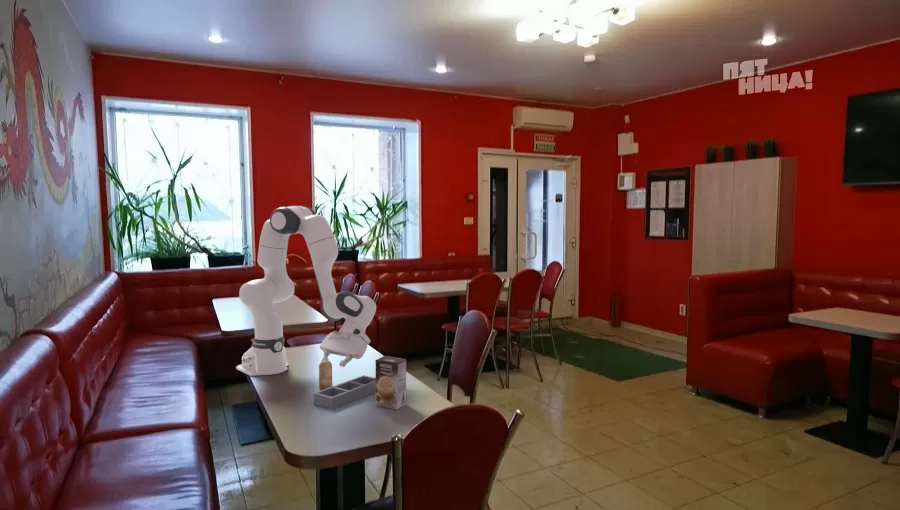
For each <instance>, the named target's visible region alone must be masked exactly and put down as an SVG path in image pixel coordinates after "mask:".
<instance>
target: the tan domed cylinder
mask: <svg viewBox="0 0 900 510" xmlns="http://www.w3.org/2000/svg"><path fill="white" fill-rule="evenodd" d="M332 386H333V364H332V362H331V361H330V360H323V361H322V360H321V361H320V362H319V364H318V390H319V391H321V390H324V389H327V388H330V387H332Z"/></svg>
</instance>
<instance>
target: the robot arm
mask: <svg viewBox="0 0 900 510" xmlns="http://www.w3.org/2000/svg"><path fill="white" fill-rule="evenodd" d="M297 234H300V235H302V237H303V238H304V240H305V242H306V243H305V244H306V246H307V249H308V253H309V254H310V259H311V262H312V267H313V272H314V276H315V280H316V284H317V287H318V291H319V292H318V293H319V296H320V311H321V314H322V315H323V317H324V318H325V319H326V320H328V321H331V322H337V321H339V320H341V319H342V318H343V319H345V320H344V322H343V324H342V326H341V327H340V328H339V331H338V330H333V331H332V332H330V333H328V334H327V335H326V336H325V337H324V339H323V340H322V342H320V345H319V349H320V350H321V351H322V352H323V357H322V359H321V361H323V360H328V361H330V360H329V358H328V357H329V356H330V355H336V356H340V357H345V358H344V359H343V360H340V362H339V363H338V365H339V366H340V367H342V368H345V367H346V365H347V364H348V363H350V361H352V360H353V359H355V360H361V358H363V356H364V354H365V353H366V351H367V348H368V345H369V344H370V343H371V339H370V337H369V336H368V335H367V334H366V333H365V332H366V328H367V327H368V326H369V325H370V323H371V322H372V320H373V318H374V316H375V315H376V312H377V304H376V302H375V301H374V300H373V299H372V298H371V297H370V296H367V295H358V294H355V293H353V292H351V291H349V290H343V291H340V292H337V291H336V287H335V284H334V283H335V282H334V279H333V276H332V269H333V266H334V263H335V261H336V260H337V258H338V255H339V247H338V243H337V240H336V237H335V235H334V232H333V229H332V228H331V226H330V224H329V223H328V221H327V219H326V217H325V216H323V215H322V214H317V213H316V211H315V210H314V209H313V208H311V207H309V206H306V205H291V206H280V207H278V208H274V210H273V211H272V212H271V213H270V216H269V219H267V220H266V221H264V223H263V226H262V229H261V232H260V237H259V243H258V244H259V245H258V251H257V259H256V260H257V261H256V262H257V264H258V266H259V267H261V268H262V269H263V272H264V277H263V278H259V279H252V280H250V281H247V282H246V283H244V284H242V285H241V286H240V288H239V292H238V295H239V299H240V302H241V303H242V304H243V305H244V306H245V307H247V308H248V309H249V311H250V313H251V315H252V318H253V323H254V324H253V325H254V338H252V339H251V342H252V345H251V347H250V348H249V349H248V350H246V352H244V353H243V355H242V357H241V358H242V359H241V364H238V365H237V366H235V368H236V370H238V371H240V372H242V373H243V374H246V375H248V376H249V377H255V376H270V375H278V374H281V373H284V372H286V371H287V370H288V367H289V366H290V364H289V362H288V359H287V351H286V347H285V346H284V345H285V336H284V334H283V331H284V330H283V327H284V325H283V318H282V316H281V315H280V314H278V313H277V312H276V311H275V308H274V304H278V303H281V302H285V301H287V300H288V299H290V298H292V297H293V295H294V293H295V285H294V281H292V279H291V278H290V276H289V274H288V272H287V252H288V247H289V245H288V244H289V239H290V237H291V235H297ZM287 366H288V367H287Z"/></svg>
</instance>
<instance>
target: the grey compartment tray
mask: <svg viewBox="0 0 900 510" xmlns="http://www.w3.org/2000/svg"><path fill="white" fill-rule="evenodd" d="M373 393H376V377H374V376H368V375H361V376H358V377H355V378H352V379H349V380H346V381H344V382H341V383H338V384H335V385H332V387H330V388H327V389H324V390H321V391H315V392H313V405H316V406H319V405H320V407H322V406H323V408H326V409H329V408H330V409H329V410H334V409H336V407H337V408H338V406H339V407H341V406H343V405H344V406H345V405H346V404H349V403H351V402H354V401H356V400H359V399H360V398H361V399H362V398H364V397H366V396H368V395H371V394H373ZM333 408H334V409H333Z"/></svg>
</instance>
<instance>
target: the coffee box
mask: <svg viewBox="0 0 900 510" xmlns="http://www.w3.org/2000/svg"><path fill="white" fill-rule="evenodd" d="M375 378H376V392H375V406H378V407H382V408H386V409H387V408H388V409H392V410H399V409H400V408H402V407H403V406H405V405H406V404H407V359H406V358H402V357H397V356H396V357H394V356H388V355H383V356H381V357H379V358H377V359H375Z"/></svg>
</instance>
